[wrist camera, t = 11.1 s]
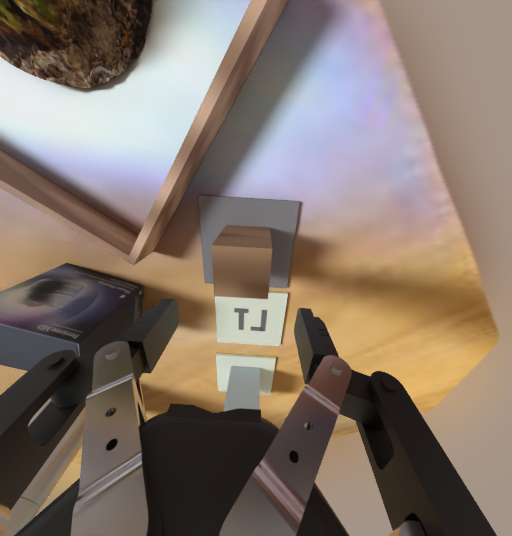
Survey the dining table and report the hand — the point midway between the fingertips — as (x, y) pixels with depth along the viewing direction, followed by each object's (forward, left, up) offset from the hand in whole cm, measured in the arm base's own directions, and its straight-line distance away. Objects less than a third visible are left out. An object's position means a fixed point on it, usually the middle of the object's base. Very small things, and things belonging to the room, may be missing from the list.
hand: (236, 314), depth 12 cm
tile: (-9, -7, -12) cm, 16 cm away
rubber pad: (0, 0, -12) cm, 12 cm away
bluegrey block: (-20, -14, -12) cm, 27 cm away
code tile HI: (-20, -14, -12) cm, 27 cm away
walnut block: (0, 0, -12) cm, 12 cm away
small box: (-18, +12, -12) cm, 25 cm away
